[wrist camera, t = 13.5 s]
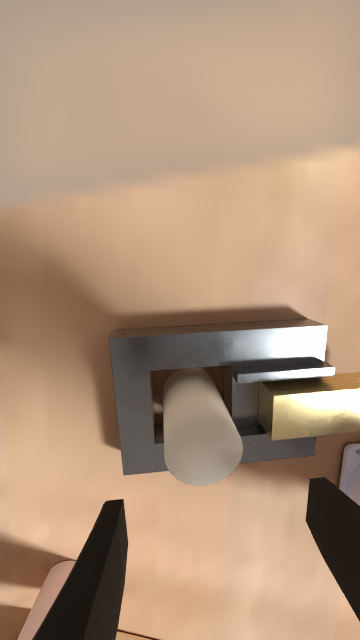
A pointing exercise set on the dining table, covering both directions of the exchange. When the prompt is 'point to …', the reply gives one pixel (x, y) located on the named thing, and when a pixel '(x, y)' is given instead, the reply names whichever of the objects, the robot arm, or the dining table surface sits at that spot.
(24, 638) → the smoothie
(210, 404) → the white capsule cylinder
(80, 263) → the dining table surface
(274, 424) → the shunt bar
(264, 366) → the jig
